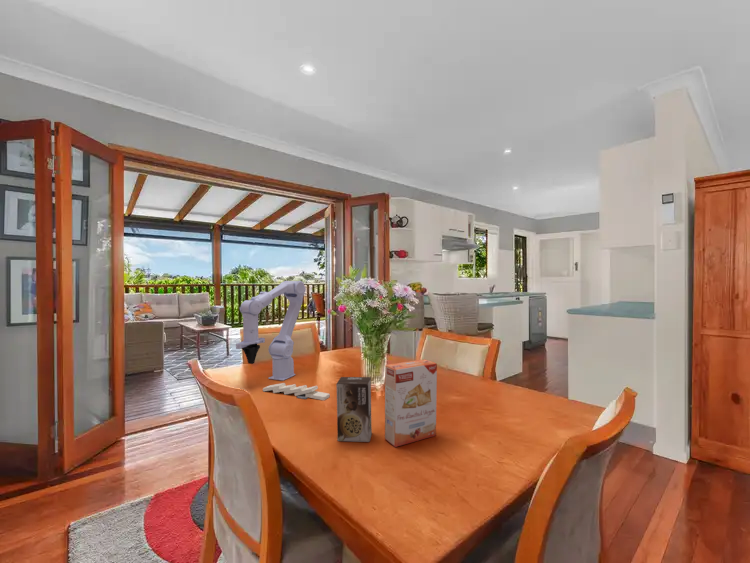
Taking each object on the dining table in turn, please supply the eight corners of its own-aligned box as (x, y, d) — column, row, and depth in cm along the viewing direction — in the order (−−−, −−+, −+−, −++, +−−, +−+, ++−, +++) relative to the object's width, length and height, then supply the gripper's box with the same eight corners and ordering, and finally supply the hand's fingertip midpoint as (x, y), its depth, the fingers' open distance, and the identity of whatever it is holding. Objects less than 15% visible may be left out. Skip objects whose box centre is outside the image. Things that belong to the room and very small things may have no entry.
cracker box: (396, 448, 92) (395, 369, 91) (384, 439, 97) (383, 364, 97) (437, 436, 99) (437, 362, 98) (424, 428, 104) (424, 358, 104)
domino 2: (279, 386, 140) (295, 384, 137) (279, 389, 140) (296, 387, 137) (272, 389, 136) (289, 387, 133) (273, 393, 136) (290, 390, 133)
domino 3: (289, 388, 138) (306, 384, 135) (290, 391, 138) (307, 388, 135) (283, 391, 134) (300, 388, 131) (284, 394, 134) (301, 391, 131)
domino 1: (269, 385, 142) (285, 382, 139) (269, 388, 141) (285, 385, 138) (262, 388, 138) (278, 385, 135) (263, 391, 138) (279, 388, 135)
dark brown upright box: (372, 432, 102) (371, 376, 101) (369, 442, 95) (369, 383, 95) (341, 431, 102) (340, 376, 102) (336, 441, 96) (336, 382, 96)
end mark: (306, 392, 137) (306, 391, 137) (315, 393, 135) (315, 392, 135) (296, 397, 130) (296, 397, 130) (305, 399, 129) (305, 398, 129)
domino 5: (311, 390, 134) (329, 393, 131) (311, 393, 134) (329, 396, 131) (305, 393, 130) (324, 397, 127) (305, 396, 131) (324, 400, 127)
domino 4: (300, 389, 136) (317, 385, 133) (301, 392, 136) (318, 388, 133) (294, 392, 132) (311, 388, 129) (295, 396, 132) (312, 391, 129)
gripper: (245, 333, 134) (246, 368, 134) (270, 327, 147) (270, 360, 148) (231, 332, 136) (231, 367, 137) (257, 327, 150) (257, 358, 150)
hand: (251, 363), depth 142 cm, fingers closed
